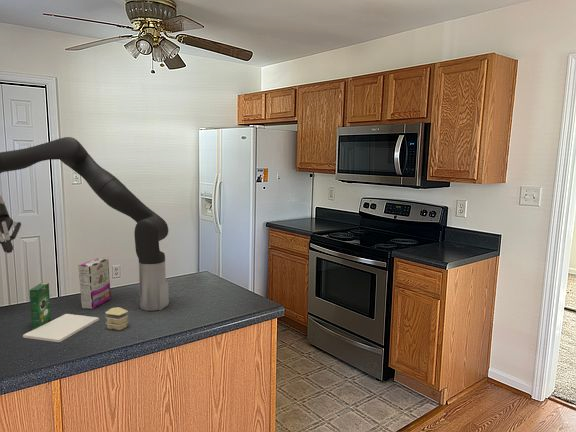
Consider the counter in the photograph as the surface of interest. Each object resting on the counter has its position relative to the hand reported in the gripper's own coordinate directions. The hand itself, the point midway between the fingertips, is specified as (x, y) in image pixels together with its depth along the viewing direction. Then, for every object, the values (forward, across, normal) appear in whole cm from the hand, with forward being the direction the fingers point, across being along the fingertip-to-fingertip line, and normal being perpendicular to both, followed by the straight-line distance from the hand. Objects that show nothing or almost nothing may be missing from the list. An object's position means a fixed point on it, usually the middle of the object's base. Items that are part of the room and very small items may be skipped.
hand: (9, 252), depth 145 cm
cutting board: (+32, -5, +10) cm, 34 cm away
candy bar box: (+27, -20, -5) cm, 34 cm away
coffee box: (+28, -1, +4) cm, 28 cm away
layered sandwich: (+40, -19, +17) cm, 47 cm away
